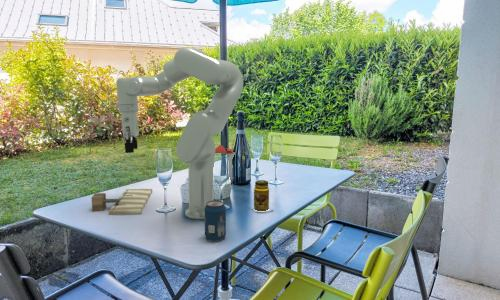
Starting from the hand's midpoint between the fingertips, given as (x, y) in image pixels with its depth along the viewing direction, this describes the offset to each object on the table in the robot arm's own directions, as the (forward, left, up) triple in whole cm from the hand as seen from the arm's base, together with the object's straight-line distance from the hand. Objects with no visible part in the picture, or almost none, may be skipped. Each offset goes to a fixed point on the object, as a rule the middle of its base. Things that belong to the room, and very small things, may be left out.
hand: (131, 150), depth 151 cm
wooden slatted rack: (+3, +1, -23) cm, 23 cm away
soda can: (-37, -33, -23) cm, 55 cm away
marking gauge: (-5, +10, -23) cm, 25 cm away
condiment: (-10, -52, -23) cm, 58 cm away
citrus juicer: (+31, -36, -23) cm, 53 cm away
